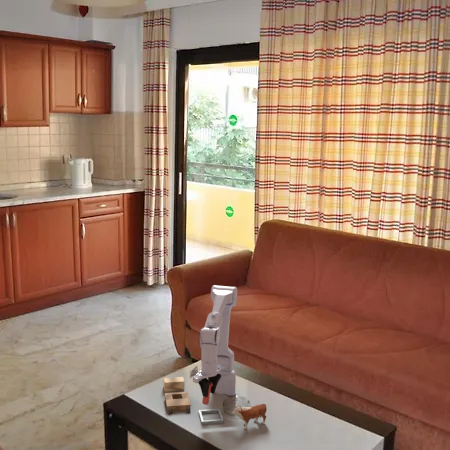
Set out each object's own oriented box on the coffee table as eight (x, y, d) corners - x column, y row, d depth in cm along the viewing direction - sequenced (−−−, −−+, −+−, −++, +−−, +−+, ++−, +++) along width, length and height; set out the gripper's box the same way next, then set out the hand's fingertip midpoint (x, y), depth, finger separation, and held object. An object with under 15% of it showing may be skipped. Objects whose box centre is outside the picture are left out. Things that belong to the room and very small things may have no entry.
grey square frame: (219, 413, 209) (219, 408, 209) (223, 425, 201) (223, 420, 201) (198, 415, 207) (198, 410, 207) (201, 426, 200) (201, 421, 199)
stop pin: (205, 399, 206) (208, 380, 204) (211, 403, 204) (214, 383, 202) (199, 402, 203) (202, 382, 202) (205, 406, 201) (208, 386, 200)
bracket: (211, 383, 233) (211, 376, 232) (190, 379, 237) (190, 371, 236) (217, 377, 239) (217, 369, 238) (196, 372, 243) (196, 365, 242)
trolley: (186, 396, 221) (187, 389, 220) (191, 414, 208) (191, 407, 207) (164, 398, 219) (164, 390, 218) (167, 416, 206) (167, 408, 205)
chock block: (183, 388, 228) (183, 376, 227) (184, 392, 224) (184, 381, 223) (163, 389, 226) (163, 378, 225) (164, 394, 223) (164, 382, 222)
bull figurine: (230, 425, 201) (231, 405, 200) (263, 418, 206) (264, 398, 205) (235, 432, 197) (236, 411, 196) (269, 424, 202) (270, 404, 201)
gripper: (214, 350, 208) (214, 384, 211) (187, 362, 197) (186, 397, 200) (228, 356, 203) (227, 390, 206) (201, 368, 193) (200, 404, 195)
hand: (208, 394), depth 203 cm, fingers closed on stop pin, 3 cm apart
